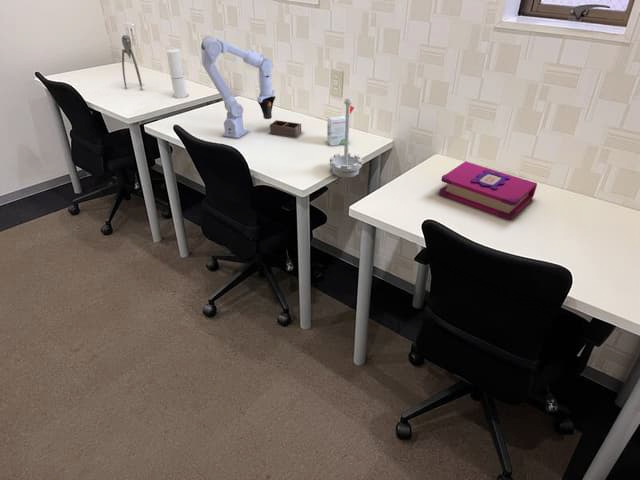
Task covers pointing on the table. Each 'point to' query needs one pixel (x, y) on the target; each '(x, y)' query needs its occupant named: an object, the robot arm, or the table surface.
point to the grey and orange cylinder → (268, 112)
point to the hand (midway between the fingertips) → (267, 112)
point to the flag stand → (346, 152)
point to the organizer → (285, 128)
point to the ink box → (336, 130)
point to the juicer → (128, 50)
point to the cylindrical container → (176, 73)
